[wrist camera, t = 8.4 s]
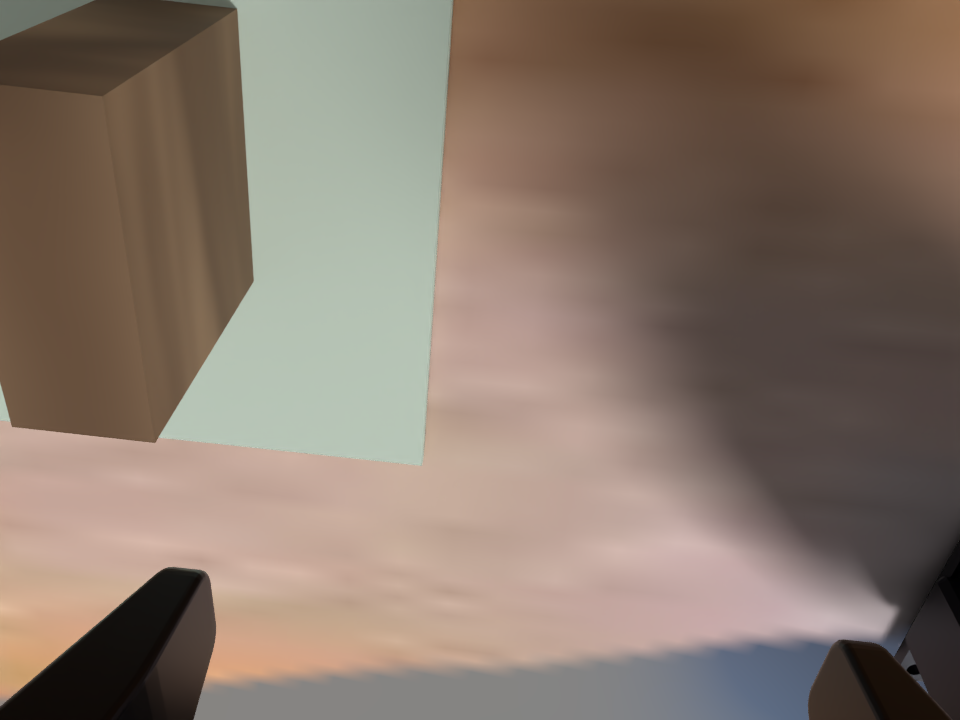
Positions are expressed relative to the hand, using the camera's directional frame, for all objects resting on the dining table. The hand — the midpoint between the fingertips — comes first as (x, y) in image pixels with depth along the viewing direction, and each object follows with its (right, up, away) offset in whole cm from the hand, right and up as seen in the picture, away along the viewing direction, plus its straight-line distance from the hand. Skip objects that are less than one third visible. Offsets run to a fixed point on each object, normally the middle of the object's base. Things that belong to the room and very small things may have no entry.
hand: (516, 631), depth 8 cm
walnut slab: (-7, +7, +10) cm, 14 cm away
